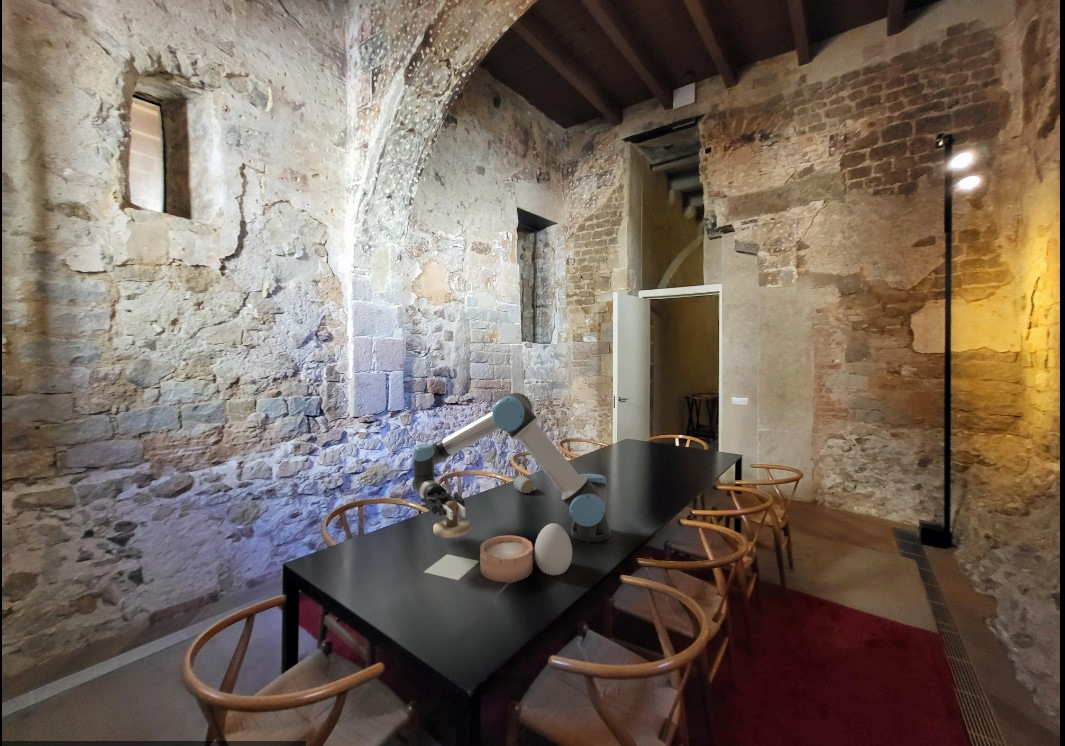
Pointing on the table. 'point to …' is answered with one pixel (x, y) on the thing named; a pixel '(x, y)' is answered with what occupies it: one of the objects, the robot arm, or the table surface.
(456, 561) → the sage mat
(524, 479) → the ceramic mug
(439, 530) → the oak lid
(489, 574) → the terracotta bowl
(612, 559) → the table surface
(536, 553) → the decorative egg
